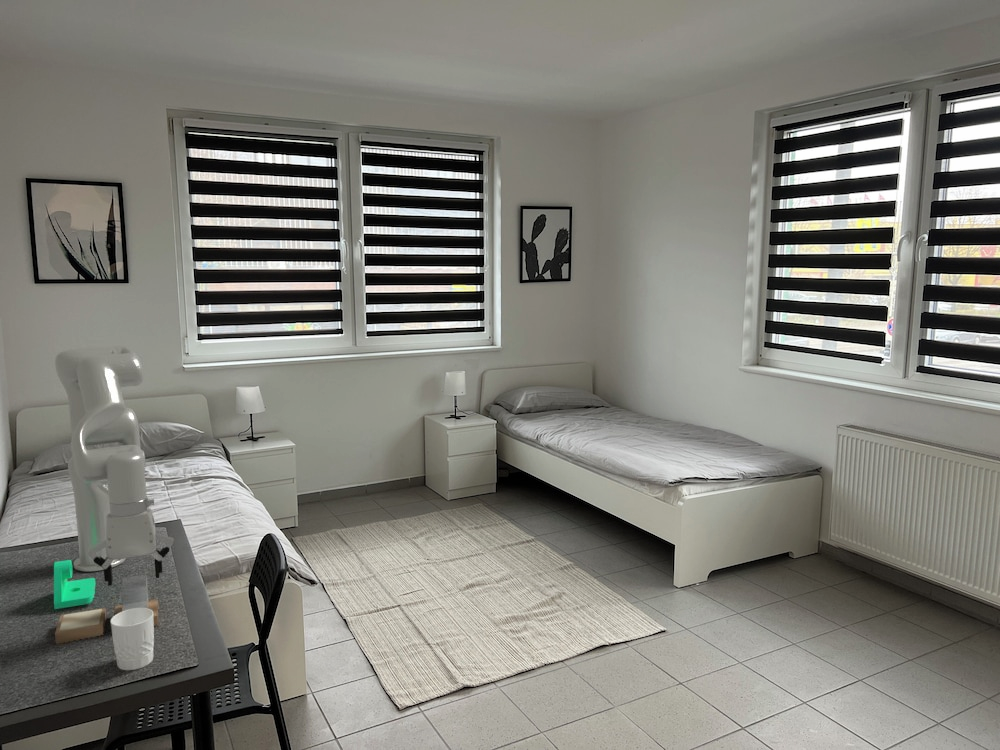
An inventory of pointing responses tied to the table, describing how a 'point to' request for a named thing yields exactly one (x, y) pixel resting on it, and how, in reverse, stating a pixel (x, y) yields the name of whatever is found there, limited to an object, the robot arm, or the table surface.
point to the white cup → (133, 638)
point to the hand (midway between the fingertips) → (134, 579)
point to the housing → (134, 592)
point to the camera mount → (71, 587)
